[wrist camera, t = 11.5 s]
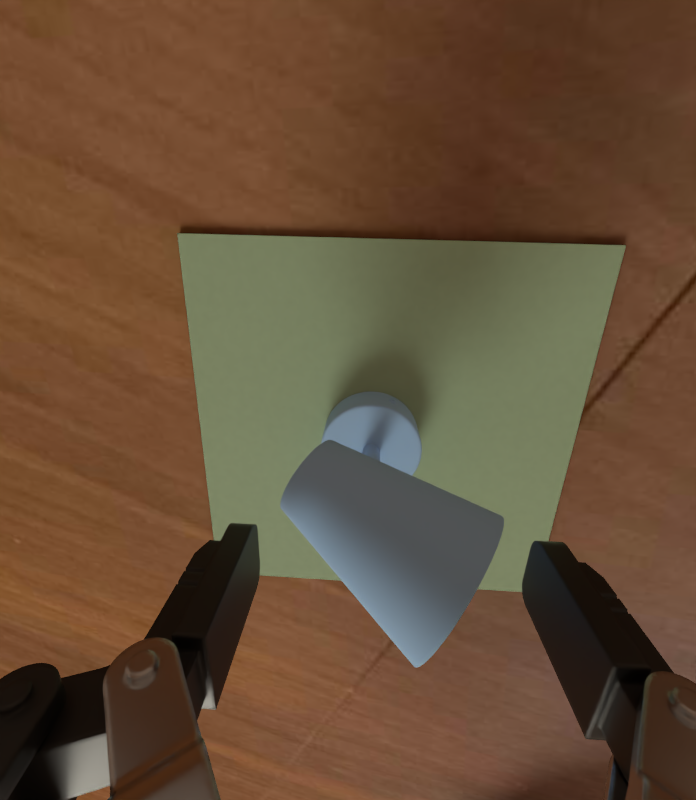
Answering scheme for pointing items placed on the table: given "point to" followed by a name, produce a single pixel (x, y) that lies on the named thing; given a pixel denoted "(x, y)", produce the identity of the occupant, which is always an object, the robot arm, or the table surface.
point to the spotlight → (391, 524)
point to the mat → (394, 369)
